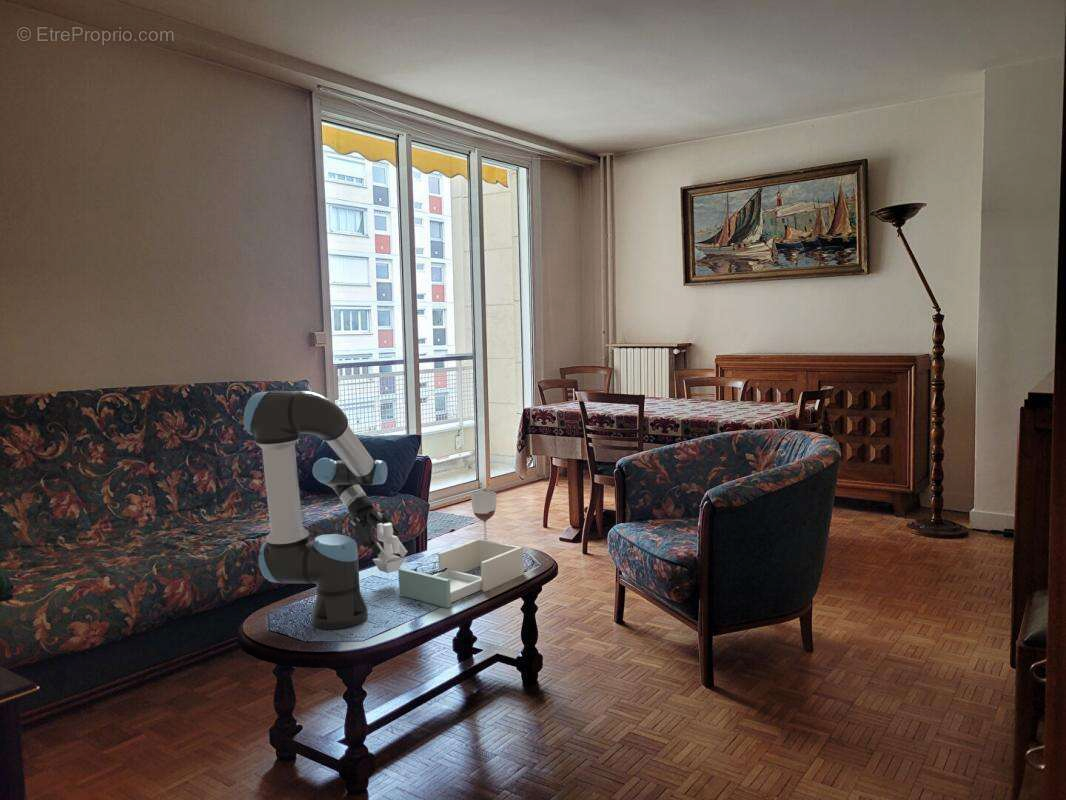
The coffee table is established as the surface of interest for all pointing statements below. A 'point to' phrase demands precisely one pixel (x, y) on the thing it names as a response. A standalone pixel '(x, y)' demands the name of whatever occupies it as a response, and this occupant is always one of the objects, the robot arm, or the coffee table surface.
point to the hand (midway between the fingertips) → (395, 557)
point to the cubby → (485, 561)
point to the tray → (438, 586)
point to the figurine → (388, 548)
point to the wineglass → (484, 506)
